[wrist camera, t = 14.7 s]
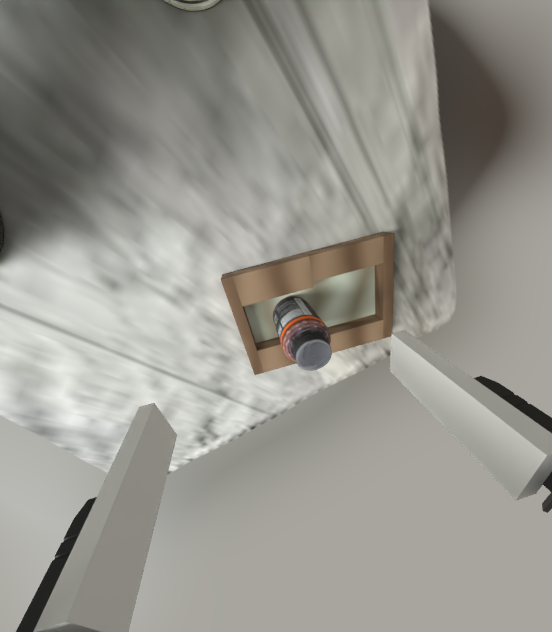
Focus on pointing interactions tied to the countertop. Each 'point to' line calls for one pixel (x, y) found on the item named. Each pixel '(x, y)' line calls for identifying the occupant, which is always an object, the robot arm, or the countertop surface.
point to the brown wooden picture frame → (317, 296)
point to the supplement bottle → (302, 333)
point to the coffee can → (192, 4)
